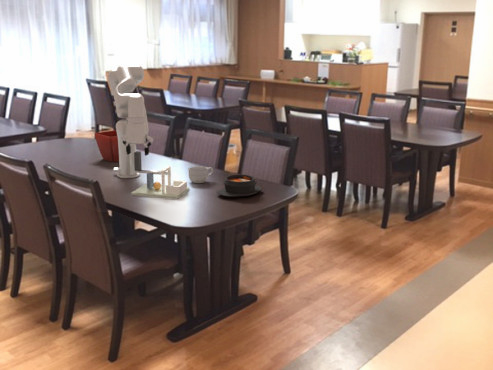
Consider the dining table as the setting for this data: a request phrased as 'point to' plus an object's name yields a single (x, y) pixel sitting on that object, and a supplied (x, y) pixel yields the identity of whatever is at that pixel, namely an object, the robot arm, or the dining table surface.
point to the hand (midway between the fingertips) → (137, 154)
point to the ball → (157, 185)
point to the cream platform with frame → (164, 188)
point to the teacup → (199, 174)
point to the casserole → (239, 186)
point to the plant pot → (108, 145)
